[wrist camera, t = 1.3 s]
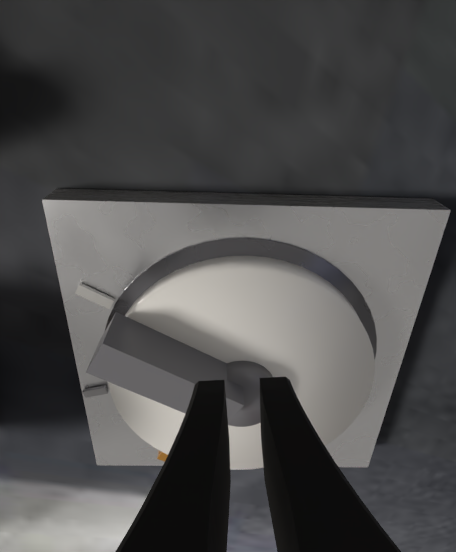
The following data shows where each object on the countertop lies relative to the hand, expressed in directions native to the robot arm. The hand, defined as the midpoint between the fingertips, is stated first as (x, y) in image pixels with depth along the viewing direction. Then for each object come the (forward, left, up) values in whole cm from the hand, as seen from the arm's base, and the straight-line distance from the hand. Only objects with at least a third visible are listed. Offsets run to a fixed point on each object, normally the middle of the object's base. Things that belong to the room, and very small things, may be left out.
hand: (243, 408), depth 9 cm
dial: (0, +5, -8) cm, 9 cm away
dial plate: (0, +5, -9) cm, 11 cm away
